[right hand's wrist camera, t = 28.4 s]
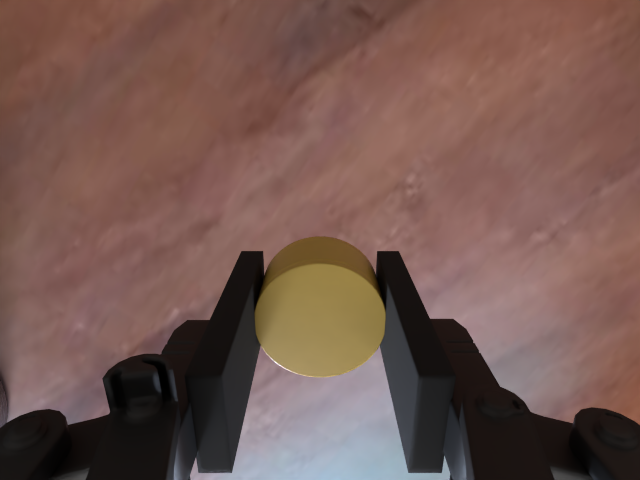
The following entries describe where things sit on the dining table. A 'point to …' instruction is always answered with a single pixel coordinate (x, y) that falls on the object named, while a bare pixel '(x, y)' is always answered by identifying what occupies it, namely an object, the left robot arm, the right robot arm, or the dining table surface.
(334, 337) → the cap
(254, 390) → the dining table surface
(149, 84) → the dining table surface
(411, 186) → the dining table surface
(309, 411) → the dining table surface
